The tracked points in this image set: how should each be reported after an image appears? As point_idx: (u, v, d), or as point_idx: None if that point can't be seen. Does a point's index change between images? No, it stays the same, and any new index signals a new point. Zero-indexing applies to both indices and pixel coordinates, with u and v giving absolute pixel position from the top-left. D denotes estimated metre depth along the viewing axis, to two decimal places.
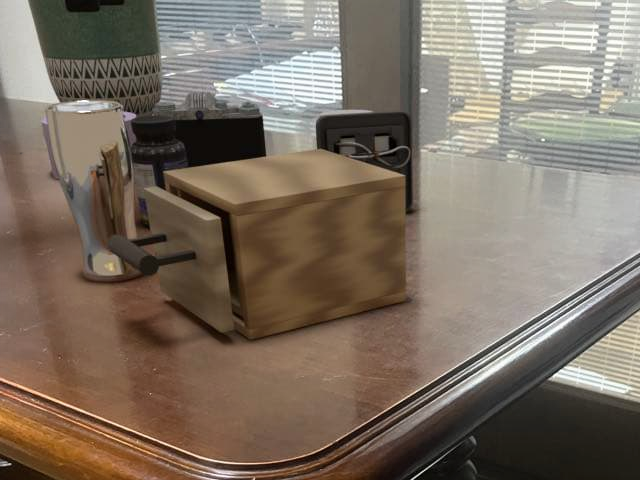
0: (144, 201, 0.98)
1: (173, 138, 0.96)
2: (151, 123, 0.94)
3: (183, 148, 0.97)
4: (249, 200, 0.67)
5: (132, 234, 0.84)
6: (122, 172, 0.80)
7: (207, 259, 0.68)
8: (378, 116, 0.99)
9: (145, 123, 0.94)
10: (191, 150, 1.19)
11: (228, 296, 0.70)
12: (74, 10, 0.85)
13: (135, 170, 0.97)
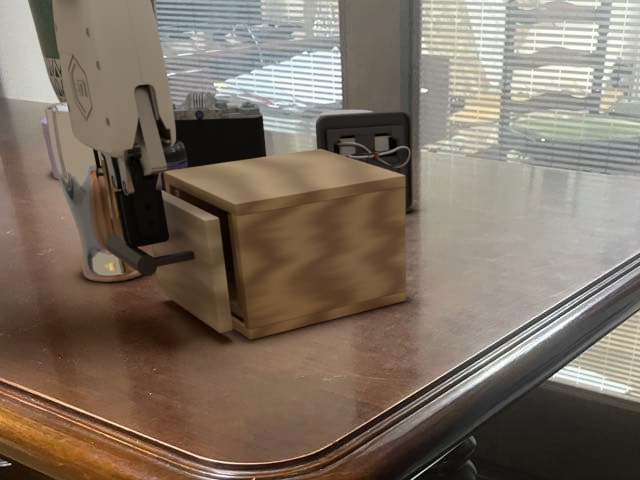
0: None
1: None
2: None
3: (183, 148, 0.97)
4: (249, 200, 0.67)
5: None
6: None
7: (206, 259, 0.68)
8: (378, 116, 0.99)
9: None
10: (191, 150, 1.19)
11: (226, 296, 0.70)
12: (141, 244, 0.69)
13: None
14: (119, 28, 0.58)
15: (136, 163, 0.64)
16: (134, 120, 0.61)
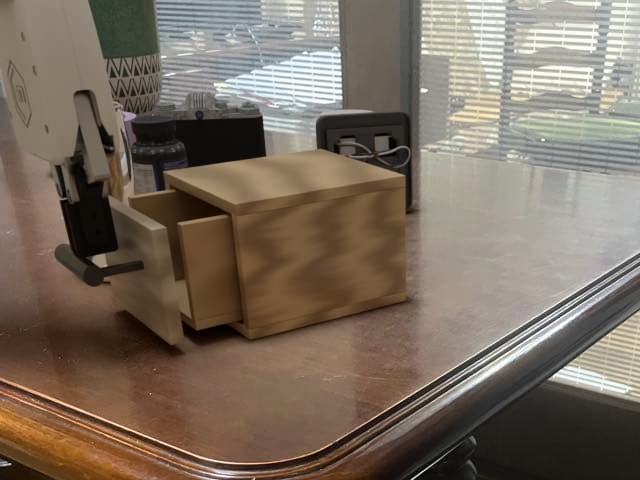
0: None
1: (173, 138, 0.96)
2: (151, 123, 0.94)
3: (183, 148, 0.97)
4: (249, 200, 0.67)
5: None
6: (122, 172, 0.80)
7: (154, 270, 0.66)
8: (378, 116, 0.99)
9: (145, 123, 0.94)
10: (191, 150, 1.19)
11: (177, 307, 0.68)
12: (88, 254, 0.67)
13: (135, 170, 0.97)
14: (55, 32, 0.56)
15: (79, 171, 0.62)
16: (74, 126, 0.59)
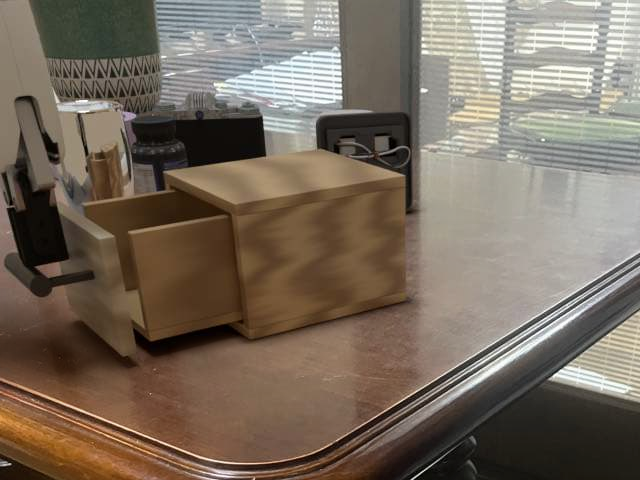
0: None
1: (173, 138, 0.96)
2: (151, 123, 0.94)
3: (183, 148, 0.97)
4: (249, 200, 0.67)
5: None
6: (122, 172, 0.80)
7: (104, 280, 0.64)
8: (378, 116, 0.99)
9: (145, 123, 0.94)
10: (191, 150, 1.19)
11: (128, 318, 0.66)
12: (37, 263, 0.65)
13: (135, 170, 0.97)
14: None
15: (24, 179, 0.60)
16: (15, 133, 0.57)
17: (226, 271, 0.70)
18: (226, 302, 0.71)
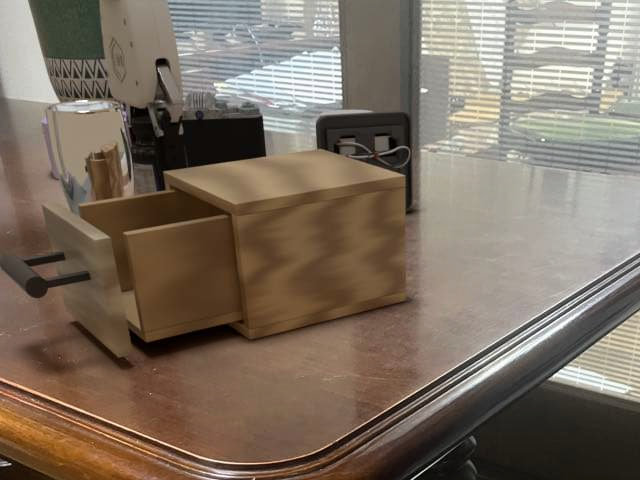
0: None
1: None
2: (151, 123, 0.94)
3: None
4: (249, 200, 0.67)
5: None
6: (122, 172, 0.80)
7: (99, 280, 0.64)
8: (378, 116, 0.99)
9: (145, 123, 0.94)
10: (191, 150, 1.19)
11: (124, 319, 0.66)
12: None
13: (135, 170, 0.97)
14: (146, 19, 0.86)
15: (165, 113, 0.90)
16: (155, 82, 0.89)
17: (222, 272, 0.69)
18: (222, 302, 0.71)
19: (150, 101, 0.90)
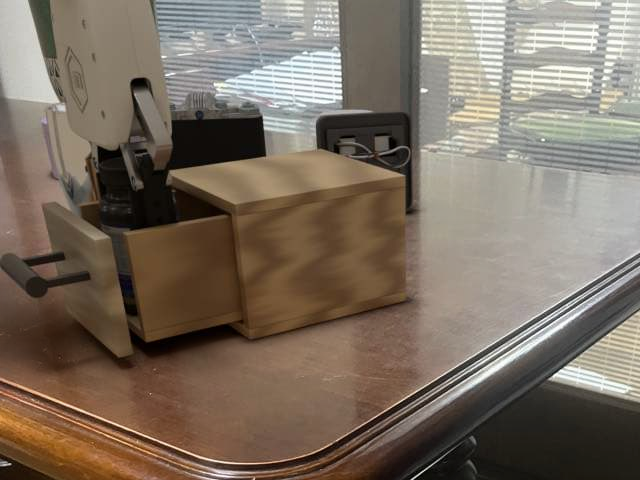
0: (119, 277, 0.69)
1: None
2: None
3: (174, 203, 0.68)
4: (249, 200, 0.67)
5: None
6: None
7: (99, 280, 0.64)
8: (378, 116, 0.99)
9: (119, 170, 0.65)
10: (191, 150, 1.19)
11: (124, 319, 0.66)
12: None
13: None
14: (115, 20, 0.58)
15: (146, 158, 0.62)
16: (130, 113, 0.60)
17: (222, 272, 0.69)
18: (222, 302, 0.71)
19: (123, 140, 0.61)
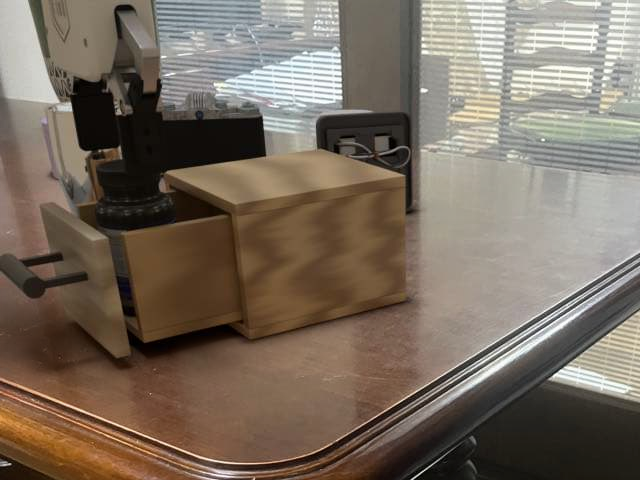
0: (116, 279, 0.69)
1: (157, 192, 0.68)
2: (124, 172, 0.65)
3: (171, 205, 0.68)
4: (249, 200, 0.67)
5: None
6: None
7: (97, 281, 0.64)
8: (378, 116, 0.99)
9: (116, 172, 0.65)
10: (191, 150, 1.19)
11: (122, 320, 0.66)
12: (137, 173, 0.63)
13: None
14: None
15: (135, 78, 0.58)
16: (113, 42, 0.58)
17: (220, 272, 0.69)
18: (220, 303, 0.70)
19: (106, 71, 0.59)
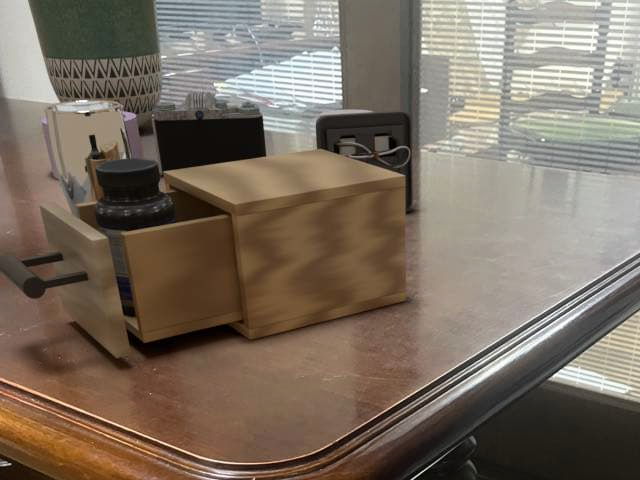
0: (116, 279, 0.69)
1: (156, 192, 0.68)
2: (124, 172, 0.65)
3: (171, 205, 0.68)
4: (249, 200, 0.67)
5: None
6: None
7: (97, 281, 0.64)
8: (378, 116, 0.99)
9: (115, 172, 0.65)
10: (191, 150, 1.19)
11: (122, 320, 0.66)
12: None
13: None
14: None
15: None
16: None
17: (220, 272, 0.69)
18: (220, 303, 0.70)
19: None
